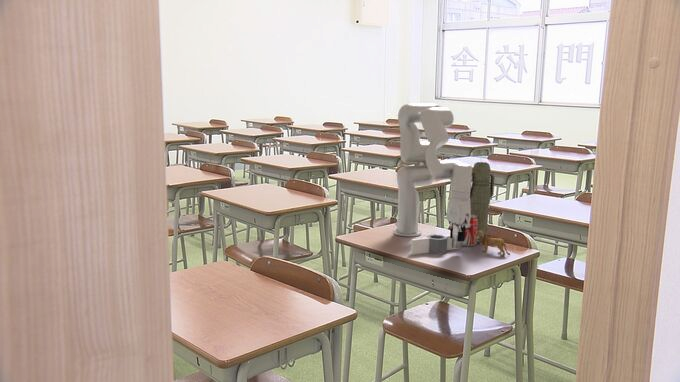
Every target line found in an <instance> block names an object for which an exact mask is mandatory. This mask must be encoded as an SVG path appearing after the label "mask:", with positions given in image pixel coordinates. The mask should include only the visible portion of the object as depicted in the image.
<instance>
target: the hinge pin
mask: <svg viewBox="0 0 680 382" xmlns="http://www.w3.org/2000/svg"><path fill="white" fill-rule="evenodd" d="M462 227H463V225H462ZM458 231H459V225H458V224H455V223H453V234H452V247H453V248H460V249H462V247H463V245H462V241H457V237H458Z"/></svg>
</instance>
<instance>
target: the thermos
mask: <svg viewBox="0 0 680 382" xmlns="http://www.w3.org/2000/svg"><path fill="white" fill-rule="evenodd" d="M495 179H496V178H495V176H494V174H493V173H492V172H491V166H490V163H488V162H486V161H477V162H475V163H474V165H473V167H472V176H471V190H470V199H469V200H470V205H471V214H473V215H476V216H477V219H478V229H477V231H479V230H481V231H484V232H486V233H487V234H489V231H490V230H489V229H490V228H489V225H488V224H489V223H488V222H489V209H490V207H489V206H490V204H491V198H492V197H494V191H495ZM476 245H481V244H480V243H479V242H478V241H477V244H476Z"/></svg>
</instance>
